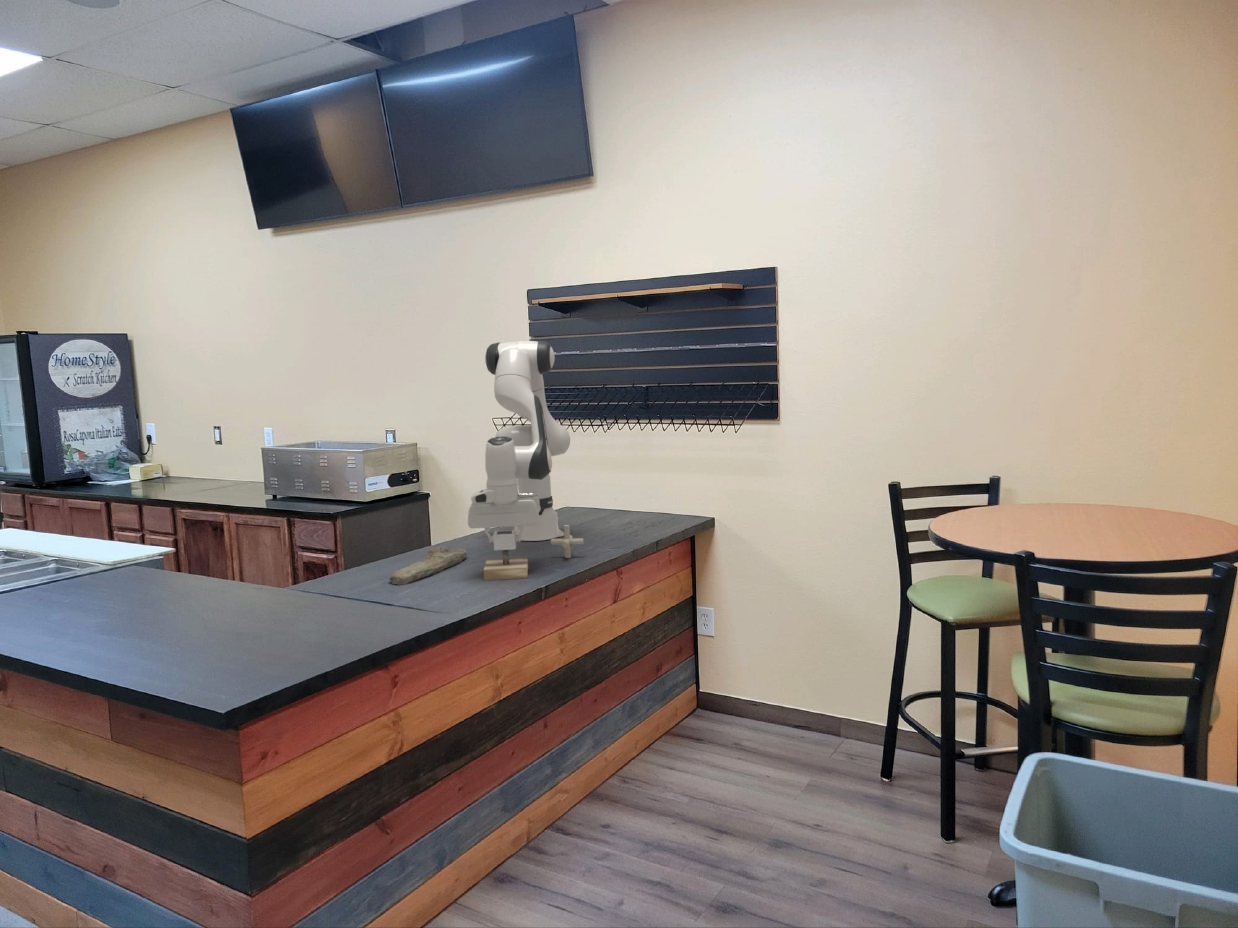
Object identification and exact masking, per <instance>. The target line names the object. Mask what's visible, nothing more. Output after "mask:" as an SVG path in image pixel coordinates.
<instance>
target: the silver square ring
mask: <svg viewBox="0 0 1238 928" xmlns="http://www.w3.org/2000/svg"><path fill="white" fill-rule="evenodd" d="M515 535H516V530H515V529H508V530H494V532H493V534H492V536H493V539H494V543H493V551H502V550H510V551H511V550H516V549H517V542H515Z"/></svg>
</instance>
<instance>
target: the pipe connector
mask: <svg viewBox="0 0 1238 928" xmlns="http://www.w3.org/2000/svg"><path fill="white" fill-rule="evenodd" d="M570 527H571V525H570V524H564V525H563V533H564V536H563V538H553V539H550V545H553V546H555V545H559V546H560V545H561V546H562V548H564V559H570V558H572V555H571V553H572V551H571V545H584V544H585V543H584V542H585V540H584V538H582V537H581V538H574V537H573V535H571V529H570Z"/></svg>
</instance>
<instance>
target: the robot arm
mask: <svg viewBox="0 0 1238 928" xmlns="http://www.w3.org/2000/svg"><path fill="white" fill-rule="evenodd" d="M553 349H554V348H553V345H551V343H549V342H548V341H543V340H539V341H535V340H517V341H507V342H499V341H498V342H495V343H491V344H490V345H489V346H488V347H486V352H485V357H484V362H485V365H486V368H487V371H488V372H489V373H491V374H492V375H494V391H493V392H494V398H495V400H496V402H497V403H498V404H499V405H500V406H501V407H502V408H503V409H505V410H507V411H509V412H512V413H513V414H516V415H518V416H519V417H521V418H523V419H525V420H527V421H528V422H529V423H530V424H528V425H527V424H524V425H522V424H519V425H510V426H506V427H501V428H500V429H498V431H497V432H496V434H495V436H494V437H491V438H489V439H488V440H487V441H486V445H485V457H484V458H485V461H484V462H485V465H484V466H485V472H486V476H487V479H486V483H485V484H486V488H484V489H482V490H480V491H476V492H474V493H473V494H472V495H471V496H470V497H471V498H470V499H471V500H470V501H471V504H470V506H469V507H468V512H467V513H468V514H467V515H468V516H467V525H468V528H470V529H484V533H485V534H486V536H487V538H488V543H489V544H494V539H493V535H492V534H491V533H490V531H491V528H508V527H511V528H512V527H513V528H514V530H516V535H515V542H516V543H518V542H519V543H520V542H521V541H526V542H533V541H534V542H535V541H536V542H537V541H538V542H539V541H546V540H551V539H557V538H559V537H561V538H562V537H564V531H563V530H561V529H560V528H559V521H558V520H559V519H558V512H557V511H556V510H555V509H554V507H553V506H554V504H553V503H554V500H553V495H552V491H551V489H552V488H551V485H552V484H551V476H550V475H551V474H550V473H551V472H552V468H553V459H552V457H554V456H560V455H564V454H565V453H566V452H567V451H568V450H569V448H570V445H571V435H570V434H569V433H570V432H569V431H568V429H567V428H566V427H565V426H563V425H562V424H560V423H558V421H556V420H555V418H554V417H553V416H552V414H551V413H550V411H549V408H548V405H547V400H546V395H545V393H546V392H545V384H544V383H545V381H544V377H543V375H545V374H547V373H550V372H551V371H552V369H553V368H554V367H553V366H554V364H555V358H556V357H555V355H556V354H555V351H554V350H553Z"/></svg>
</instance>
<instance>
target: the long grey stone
mask: <svg viewBox="0 0 1238 928" xmlns="http://www.w3.org/2000/svg"><path fill="white" fill-rule="evenodd" d="M467 555H468V553H467V550H466V549H464V548H447V547H443V546H441V547H437V548H436V547H435V546H434V547H431V548H429V549H428V553H427V555H425V556H424V557H422V560H420V561H417V562H414V563H412V564H410V565H407V566H405V567H403V568H400V569H398V570H396V571H391V575H390V576H389V578H388V579H389V581H390V582H391V584H393V585H395V584H398V585H397V586H402V585H401V584H405V585H409V584H411V583H412V582H415V581H418V580H421V579H424V578H428V577H429V576H432V575H431V574H433V575H435V574H437V572H438V573H440V572H443V571H444V570H445V569H446V568H451V567H453V566H455V565H457V564H459V563H461V562H463V560H465V559H466V558H467V557H468V556H467ZM408 583H409V584H408Z"/></svg>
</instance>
